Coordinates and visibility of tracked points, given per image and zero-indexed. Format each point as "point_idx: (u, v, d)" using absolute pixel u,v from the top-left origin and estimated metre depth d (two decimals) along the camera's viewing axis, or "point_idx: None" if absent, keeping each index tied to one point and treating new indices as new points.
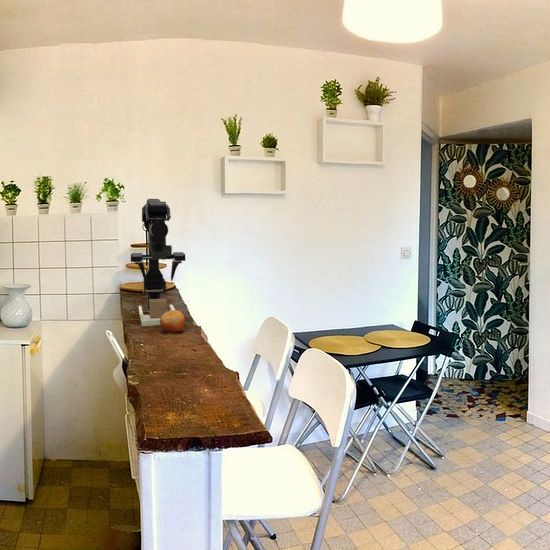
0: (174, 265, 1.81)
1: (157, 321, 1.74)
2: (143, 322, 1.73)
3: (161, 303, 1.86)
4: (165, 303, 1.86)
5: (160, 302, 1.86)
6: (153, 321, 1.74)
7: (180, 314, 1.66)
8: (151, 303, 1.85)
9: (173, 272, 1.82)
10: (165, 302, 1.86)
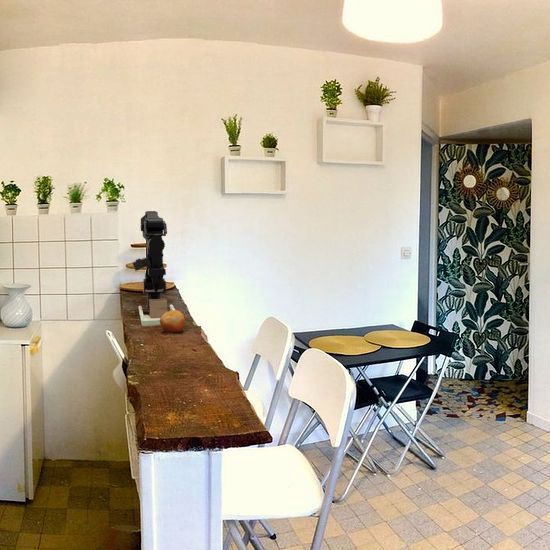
0: (150, 277, 1.95)
1: (157, 321, 1.74)
2: (143, 322, 1.73)
3: (161, 303, 1.86)
4: (165, 303, 1.86)
5: (160, 302, 1.86)
6: (153, 321, 1.74)
7: (180, 314, 1.66)
8: (151, 303, 1.85)
9: (153, 283, 1.96)
10: (165, 302, 1.86)
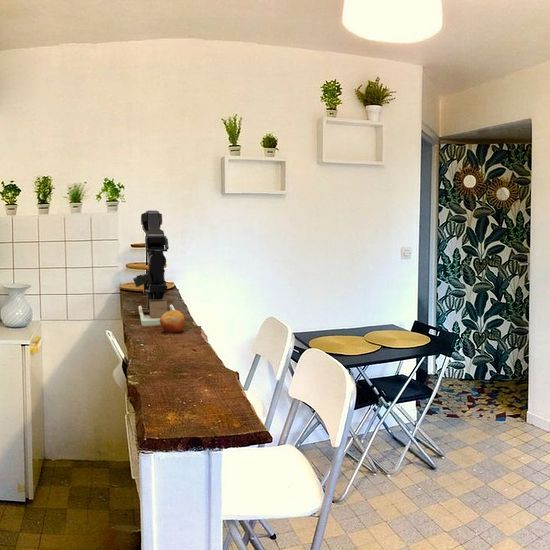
0: (151, 293, 1.91)
1: (157, 321, 1.74)
2: (143, 322, 1.73)
3: (161, 303, 1.86)
4: (165, 303, 1.86)
5: (160, 302, 1.86)
6: (153, 321, 1.74)
7: (180, 314, 1.66)
8: (151, 303, 1.85)
9: None
10: (165, 302, 1.86)
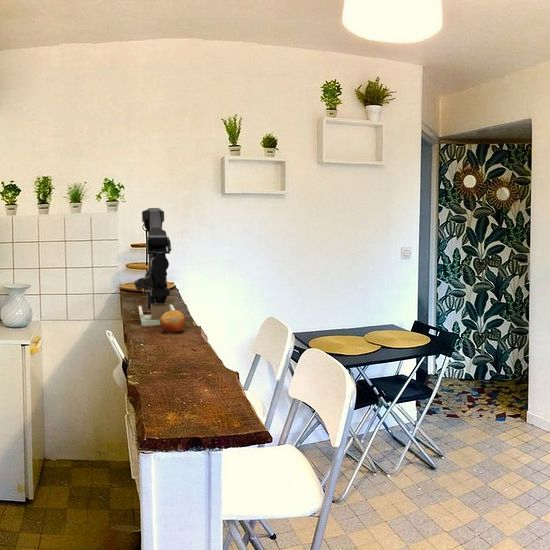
0: (153, 297, 1.82)
1: (157, 321, 1.74)
2: (143, 322, 1.73)
3: (163, 308, 1.77)
4: (167, 308, 1.77)
5: (162, 307, 1.76)
6: (153, 321, 1.74)
7: (180, 314, 1.66)
8: (153, 308, 1.75)
9: None
10: (167, 307, 1.77)
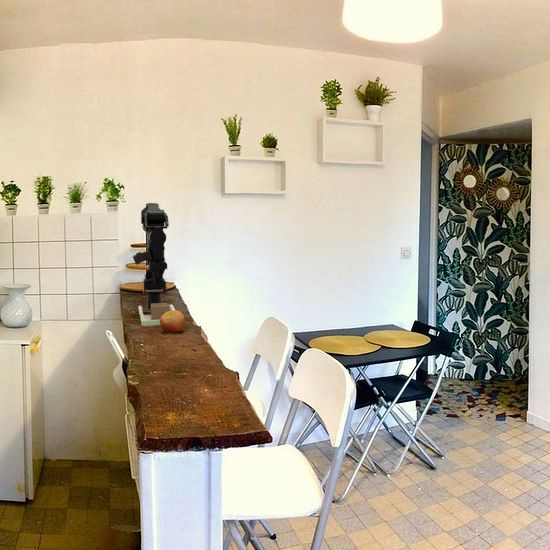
0: (151, 271, 1.88)
1: (157, 321, 1.74)
2: (143, 322, 1.73)
3: (163, 308, 1.77)
4: (167, 308, 1.77)
5: (162, 307, 1.76)
6: (153, 321, 1.74)
7: (180, 314, 1.66)
8: (153, 308, 1.75)
9: (154, 278, 1.89)
10: (167, 307, 1.77)
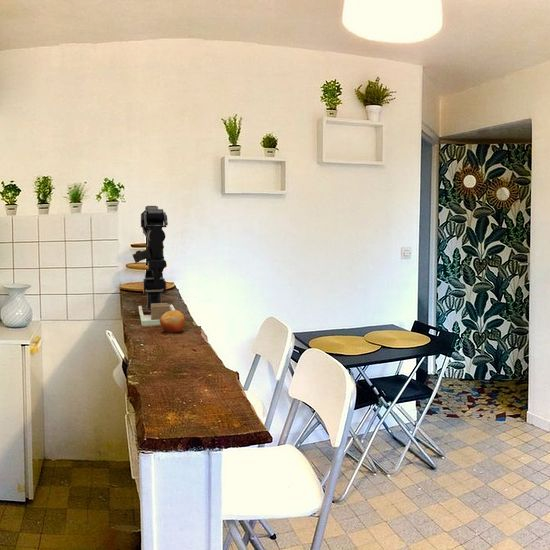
0: (151, 269, 1.92)
1: (157, 321, 1.74)
2: (143, 322, 1.73)
3: (163, 308, 1.77)
4: (167, 308, 1.77)
5: (162, 307, 1.76)
6: (153, 321, 1.74)
7: (180, 314, 1.66)
8: (153, 308, 1.75)
9: (153, 276, 1.93)
10: (167, 307, 1.77)
